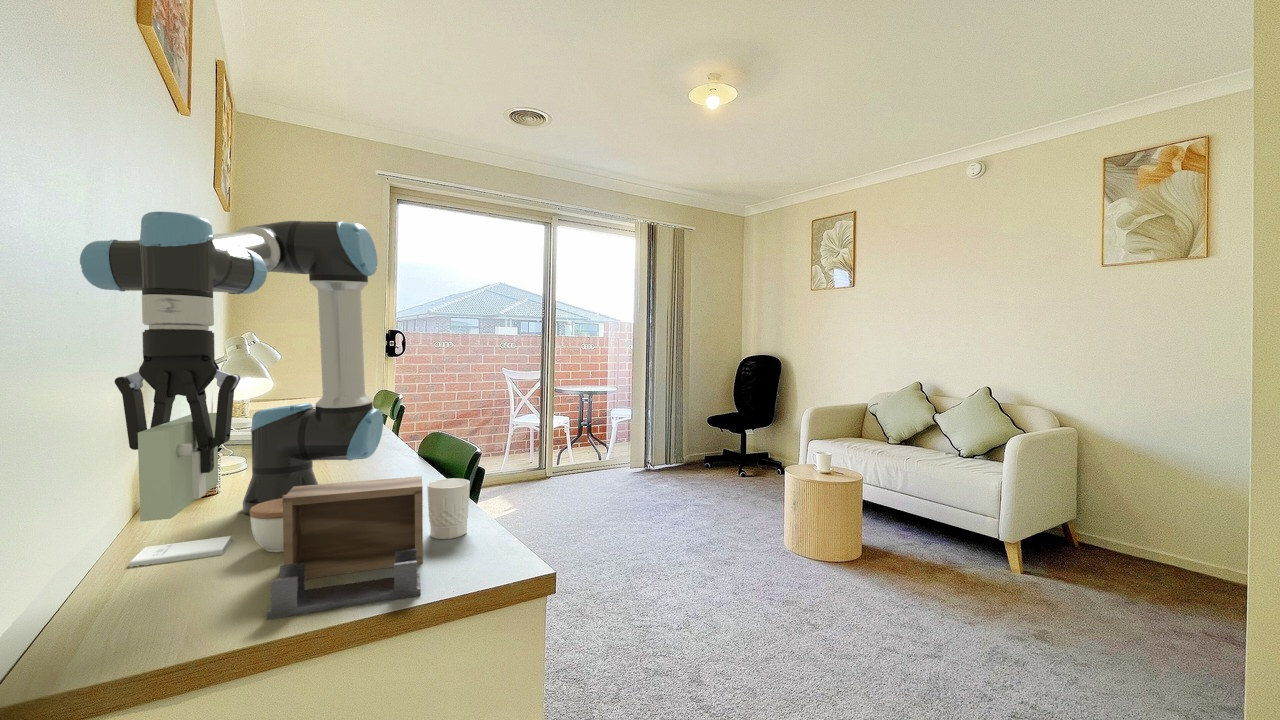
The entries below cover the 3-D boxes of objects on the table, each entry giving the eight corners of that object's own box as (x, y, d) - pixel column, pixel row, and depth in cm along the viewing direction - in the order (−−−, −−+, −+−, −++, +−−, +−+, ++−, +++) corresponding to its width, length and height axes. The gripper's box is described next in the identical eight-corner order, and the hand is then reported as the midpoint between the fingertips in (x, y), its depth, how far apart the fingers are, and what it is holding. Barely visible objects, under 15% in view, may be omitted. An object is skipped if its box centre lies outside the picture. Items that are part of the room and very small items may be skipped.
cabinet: (294, 563, 91) (293, 486, 91) (421, 547, 99) (421, 476, 99) (283, 582, 84) (283, 498, 84) (422, 562, 92) (422, 486, 92)
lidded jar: (286, 559, 93) (285, 505, 93) (234, 554, 95) (234, 501, 95) (333, 538, 104) (333, 489, 103) (285, 534, 106) (285, 486, 106)
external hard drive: (222, 558, 95) (129, 571, 90) (232, 543, 103) (146, 554, 97) (222, 548, 95) (129, 561, 90) (232, 534, 103) (146, 545, 97)
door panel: (194, 485, 83) (192, 413, 83) (227, 482, 85) (226, 412, 84) (140, 521, 67) (137, 432, 66) (182, 517, 68) (180, 430, 68)
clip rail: (277, 600, 78) (276, 565, 78) (420, 579, 85) (419, 547, 85) (266, 619, 72) (266, 582, 72) (420, 595, 80) (420, 561, 79)
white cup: (420, 533, 106) (419, 483, 106) (457, 524, 112) (457, 476, 112) (439, 543, 101) (439, 490, 101) (477, 533, 107) (477, 482, 107)
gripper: (87, 326, 68) (91, 512, 69) (242, 328, 74) (245, 498, 75) (117, 328, 75) (121, 496, 76) (256, 329, 81) (259, 485, 82)
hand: (182, 497), depth 75 cm, fingers closed on door panel, 3 cm apart
